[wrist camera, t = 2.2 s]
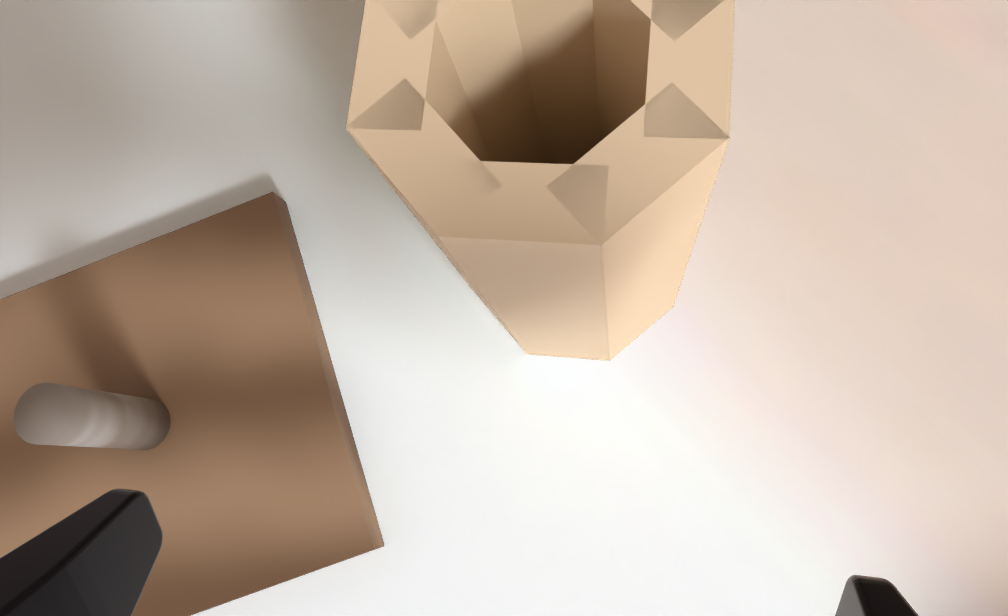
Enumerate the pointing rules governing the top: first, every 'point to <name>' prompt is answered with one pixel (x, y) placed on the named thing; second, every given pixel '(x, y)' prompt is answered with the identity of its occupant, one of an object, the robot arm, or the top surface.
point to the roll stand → (186, 409)
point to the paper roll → (552, 150)
